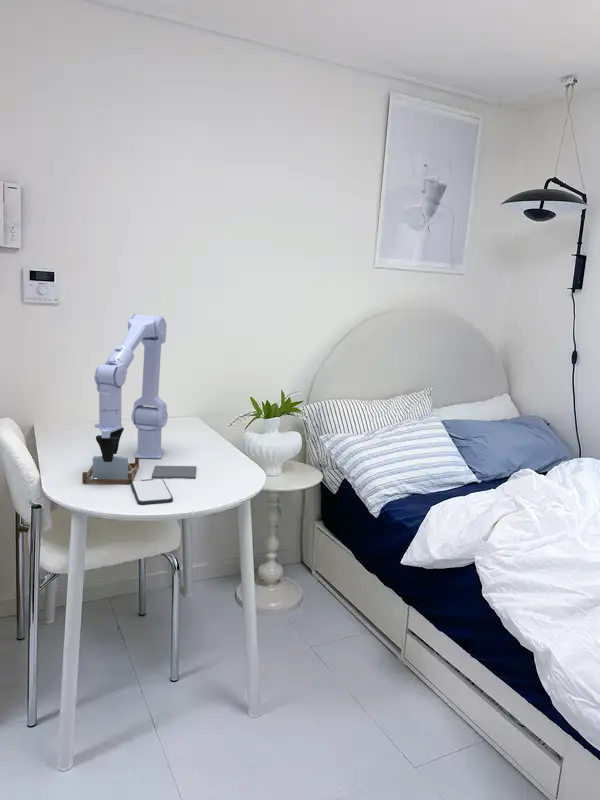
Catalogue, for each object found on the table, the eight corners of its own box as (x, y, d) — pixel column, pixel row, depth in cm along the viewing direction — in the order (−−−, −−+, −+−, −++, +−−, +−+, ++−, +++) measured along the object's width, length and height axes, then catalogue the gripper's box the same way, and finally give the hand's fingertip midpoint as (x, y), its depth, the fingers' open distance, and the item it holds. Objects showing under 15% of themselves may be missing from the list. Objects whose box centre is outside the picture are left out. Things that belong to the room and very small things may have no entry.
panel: (94, 477, 162) (94, 456, 161) (127, 477, 164) (128, 456, 163) (92, 479, 160) (92, 458, 159) (126, 479, 162) (126, 458, 161)
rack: (94, 466, 171) (94, 456, 170) (138, 467, 173) (138, 457, 172) (82, 484, 156) (82, 473, 155) (131, 484, 158) (131, 473, 157)
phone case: (174, 505, 147) (163, 483, 161) (174, 498, 146) (163, 477, 161) (137, 508, 143) (129, 485, 158) (137, 502, 143) (129, 480, 157)
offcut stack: (99, 468, 170) (99, 462, 170) (131, 468, 171) (131, 463, 171) (97, 471, 167) (97, 465, 167) (130, 471, 168) (130, 466, 168)
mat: (155, 467, 173) (155, 465, 173) (196, 468, 175) (196, 466, 175) (151, 478, 164) (151, 476, 163) (195, 478, 165) (195, 476, 165)
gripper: (100, 403, 165) (100, 450, 167) (89, 413, 151) (89, 465, 153) (126, 404, 166) (125, 450, 168) (117, 414, 152) (117, 465, 154)
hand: (110, 457), depth 161 cm, fingers open, 7 cm apart
